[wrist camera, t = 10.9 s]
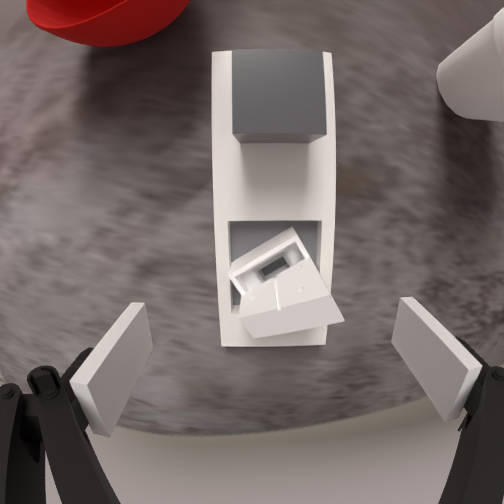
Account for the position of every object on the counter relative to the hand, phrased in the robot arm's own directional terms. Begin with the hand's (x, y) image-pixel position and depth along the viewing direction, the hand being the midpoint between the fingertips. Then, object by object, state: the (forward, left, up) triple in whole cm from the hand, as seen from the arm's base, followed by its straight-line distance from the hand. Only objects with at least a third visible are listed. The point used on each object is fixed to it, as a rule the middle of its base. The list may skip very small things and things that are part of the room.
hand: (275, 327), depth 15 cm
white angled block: (0, 0, -11) cm, 11 cm away
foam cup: (+19, +17, -11) cm, 28 cm away
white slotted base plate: (0, +5, -11) cm, 12 cm away
